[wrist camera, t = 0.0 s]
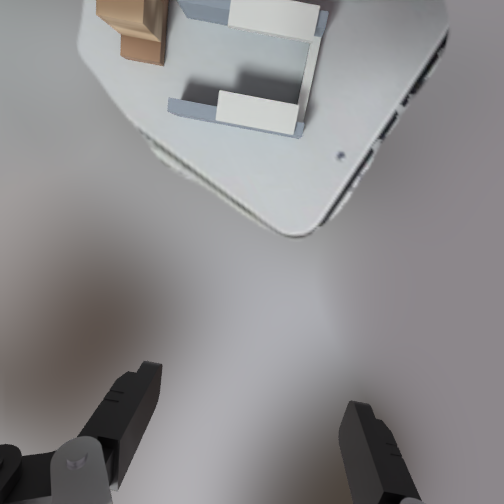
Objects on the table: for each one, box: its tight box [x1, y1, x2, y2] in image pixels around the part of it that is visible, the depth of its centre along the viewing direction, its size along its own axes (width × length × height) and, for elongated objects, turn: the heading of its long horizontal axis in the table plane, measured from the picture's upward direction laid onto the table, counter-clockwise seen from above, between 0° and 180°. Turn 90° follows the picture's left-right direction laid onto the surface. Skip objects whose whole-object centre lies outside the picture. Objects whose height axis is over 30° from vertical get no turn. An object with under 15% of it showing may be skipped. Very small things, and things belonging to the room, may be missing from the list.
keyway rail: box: [168, 0, 329, 139], centre depth 33 cm, size 12×15×5 cm
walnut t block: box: [96, 0, 169, 66], centre depth 31 cm, size 8×4×6 cm, turn 170°
